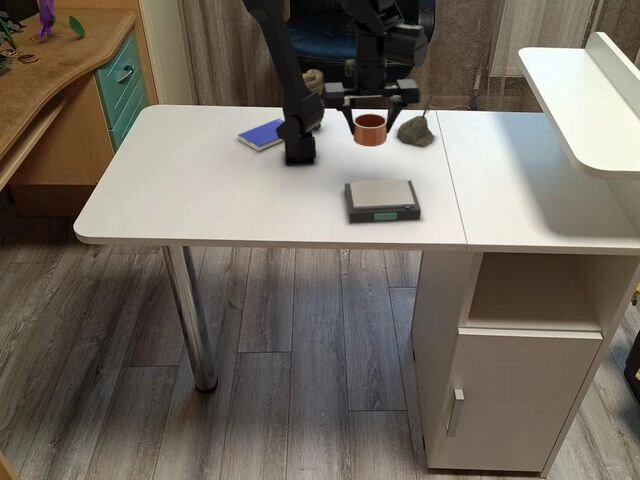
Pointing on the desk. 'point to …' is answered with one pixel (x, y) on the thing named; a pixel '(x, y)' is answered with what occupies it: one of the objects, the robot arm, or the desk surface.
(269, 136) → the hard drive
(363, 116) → the bowl
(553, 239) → the desk surface
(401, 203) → the scale
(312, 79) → the light bulb
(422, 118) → the sword in stone
